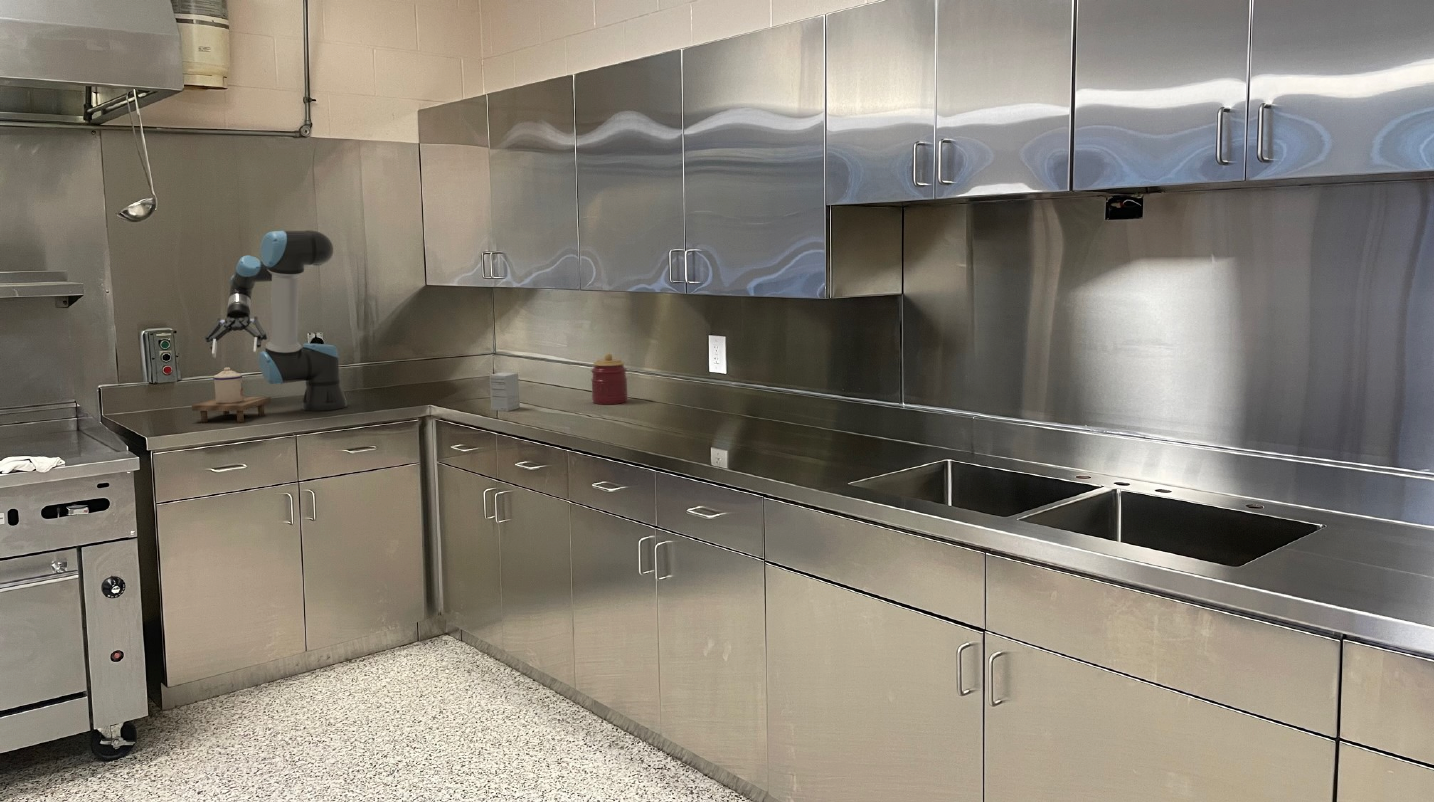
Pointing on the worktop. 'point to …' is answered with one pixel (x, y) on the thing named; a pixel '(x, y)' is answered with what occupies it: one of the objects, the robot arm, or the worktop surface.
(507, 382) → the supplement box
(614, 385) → the canister
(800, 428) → the worktop surface
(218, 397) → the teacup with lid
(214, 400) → the brown wooden stand
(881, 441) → the worktop surface
